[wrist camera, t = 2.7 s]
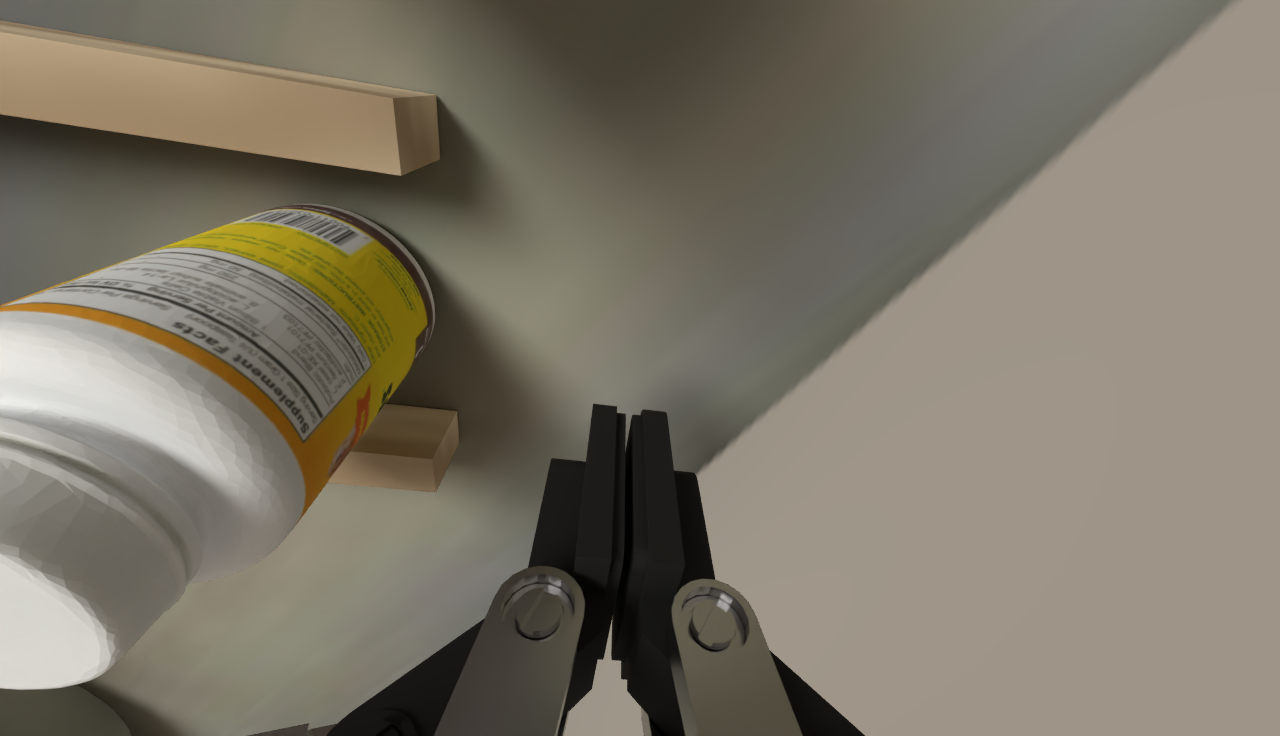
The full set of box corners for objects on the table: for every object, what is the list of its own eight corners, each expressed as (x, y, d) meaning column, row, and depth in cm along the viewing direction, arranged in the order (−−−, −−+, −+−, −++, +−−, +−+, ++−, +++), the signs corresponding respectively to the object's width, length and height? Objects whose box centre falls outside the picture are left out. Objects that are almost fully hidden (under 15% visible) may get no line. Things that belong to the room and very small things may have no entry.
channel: (-616, -86, 10) (-1182, -161, 7) (435, 95, 12) (369, 99, 9) (-184, 377, 15) (-378, 448, 13) (459, 442, 18) (424, 516, 15)
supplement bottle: (341, 388, 16) (7, 745, 8) (207, 243, 13) (-564, 542, 5) (478, 333, 15) (275, 673, 6) (363, 164, 12) (-256, 359, 4)
